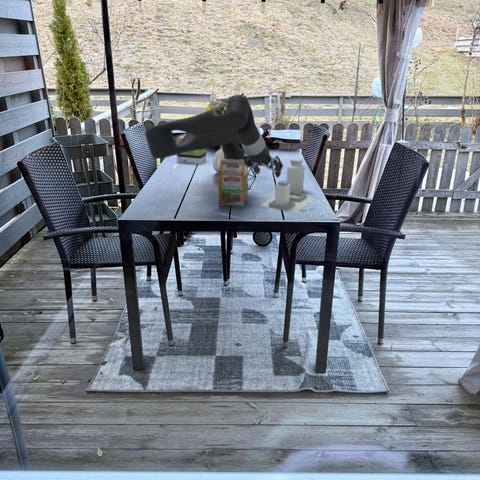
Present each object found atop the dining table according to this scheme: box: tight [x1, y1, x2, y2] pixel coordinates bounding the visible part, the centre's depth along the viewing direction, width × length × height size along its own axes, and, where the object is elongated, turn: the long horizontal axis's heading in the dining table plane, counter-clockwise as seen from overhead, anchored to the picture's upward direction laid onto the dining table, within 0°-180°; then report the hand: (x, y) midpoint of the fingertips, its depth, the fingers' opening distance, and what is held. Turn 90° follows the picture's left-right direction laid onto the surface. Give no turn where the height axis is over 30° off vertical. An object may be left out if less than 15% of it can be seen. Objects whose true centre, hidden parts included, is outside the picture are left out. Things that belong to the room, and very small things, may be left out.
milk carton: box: [217, 158, 249, 208], centre depth 175 cm, size 11×11×19 cm
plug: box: [274, 180, 290, 206], centre depth 171 cm, size 4×5×10 cm
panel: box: [259, 191, 316, 213], centre depth 177 cm, size 21×16×3 cm
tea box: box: [175, 134, 207, 165], centre depth 245 cm, size 15×10×15 cm, turn 73°
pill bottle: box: [285, 157, 305, 193], centre depth 193 cm, size 8×8×15 cm
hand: (268, 173), depth 156 cm, fingers open, 8 cm apart
